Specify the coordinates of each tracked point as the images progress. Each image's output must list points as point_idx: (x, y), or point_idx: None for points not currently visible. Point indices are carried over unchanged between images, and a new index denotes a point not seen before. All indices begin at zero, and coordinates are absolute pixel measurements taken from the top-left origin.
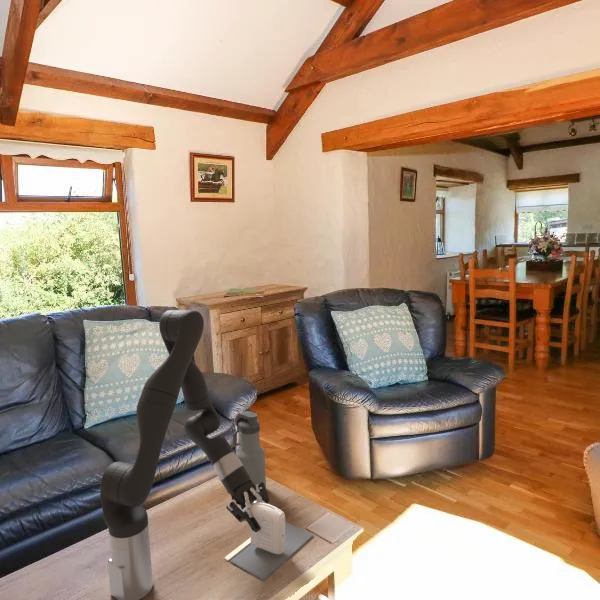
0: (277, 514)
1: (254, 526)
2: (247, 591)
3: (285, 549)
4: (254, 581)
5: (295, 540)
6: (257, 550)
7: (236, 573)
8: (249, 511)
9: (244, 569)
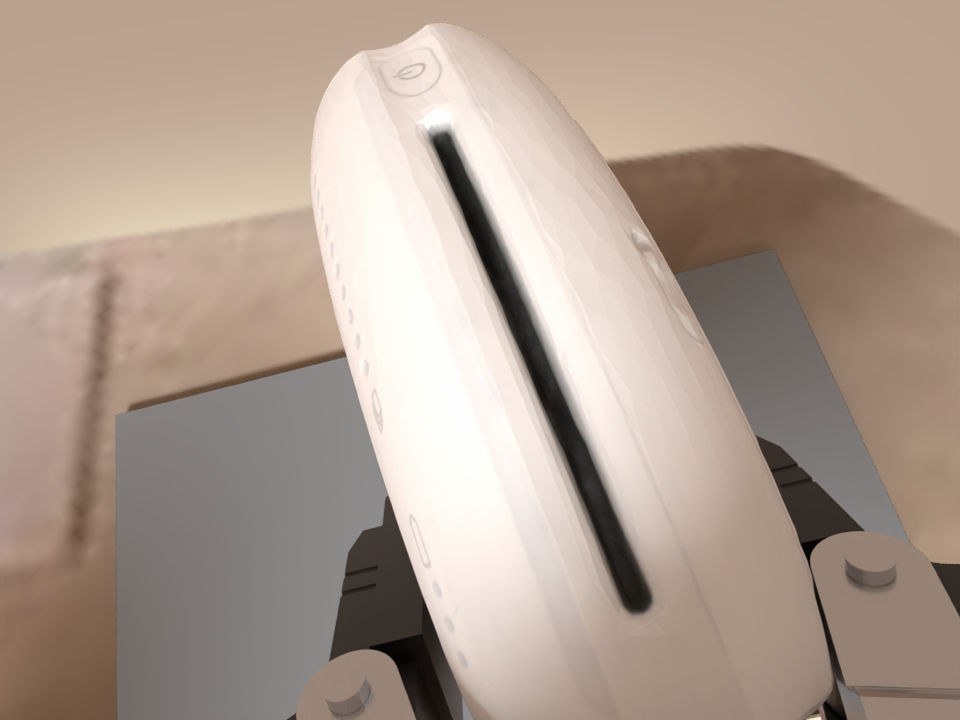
0: (477, 44)
1: (783, 460)
2: (930, 248)
3: None
4: (833, 298)
5: (273, 455)
6: None
7: (942, 469)
8: (905, 639)
9: (863, 448)
